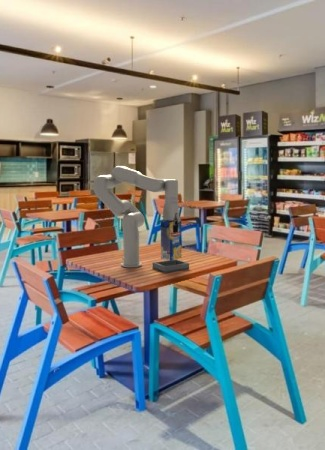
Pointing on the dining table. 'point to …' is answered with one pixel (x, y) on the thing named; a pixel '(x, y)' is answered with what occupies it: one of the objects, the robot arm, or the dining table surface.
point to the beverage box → (170, 241)
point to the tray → (170, 266)
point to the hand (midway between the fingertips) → (171, 231)
